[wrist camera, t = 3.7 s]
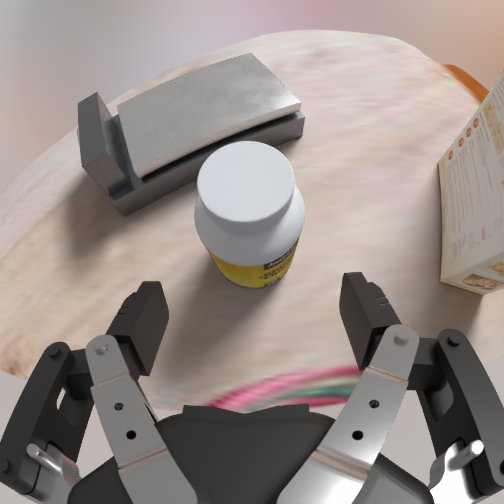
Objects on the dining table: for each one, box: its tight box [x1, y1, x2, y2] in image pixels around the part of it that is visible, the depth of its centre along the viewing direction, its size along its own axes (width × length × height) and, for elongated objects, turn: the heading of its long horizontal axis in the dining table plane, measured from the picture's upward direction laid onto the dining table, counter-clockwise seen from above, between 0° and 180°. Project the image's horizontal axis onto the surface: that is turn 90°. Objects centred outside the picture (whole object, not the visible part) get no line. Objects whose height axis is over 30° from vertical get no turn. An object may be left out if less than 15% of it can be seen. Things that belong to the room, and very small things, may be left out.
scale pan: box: [117, 53, 301, 178], centre depth 25 cm, size 16×11×1 cm, turn 116°
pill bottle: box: [194, 141, 305, 289], centre depth 18 cm, size 6×6×12 cm
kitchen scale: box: [77, 92, 305, 216], centre depth 24 cm, size 21×12×8 cm, turn 116°
